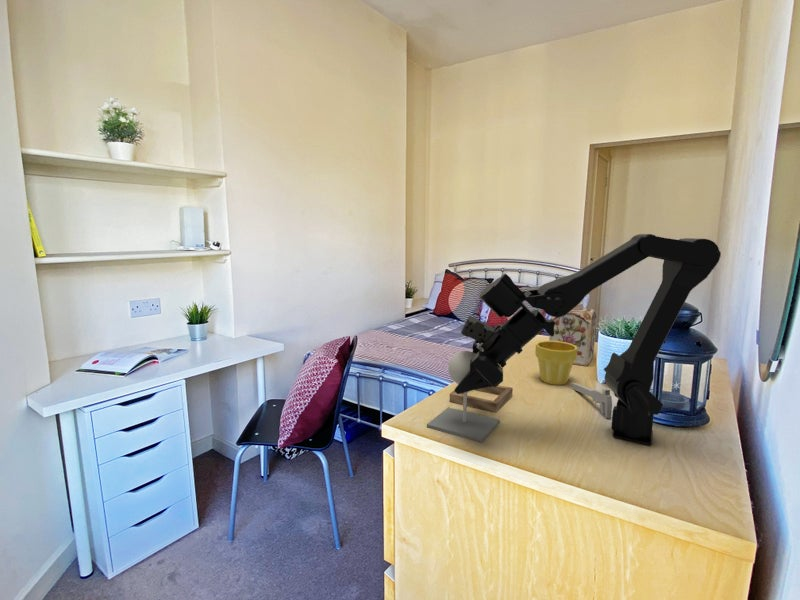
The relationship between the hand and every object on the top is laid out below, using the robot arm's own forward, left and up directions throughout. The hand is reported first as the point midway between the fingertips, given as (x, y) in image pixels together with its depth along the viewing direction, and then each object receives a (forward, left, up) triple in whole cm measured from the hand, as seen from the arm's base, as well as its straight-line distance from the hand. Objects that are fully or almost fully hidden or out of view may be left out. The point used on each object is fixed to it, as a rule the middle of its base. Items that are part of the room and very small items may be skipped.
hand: (457, 383), depth 86 cm
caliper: (-21, -28, -9) cm, 36 cm away
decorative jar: (-11, -60, -9) cm, 62 cm away
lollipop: (-1, -1, -8) cm, 8 cm away
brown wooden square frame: (+1, -15, -9) cm, 18 cm away
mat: (-1, 0, -9) cm, 9 cm away
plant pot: (-11, -37, -9) cm, 40 cm away
